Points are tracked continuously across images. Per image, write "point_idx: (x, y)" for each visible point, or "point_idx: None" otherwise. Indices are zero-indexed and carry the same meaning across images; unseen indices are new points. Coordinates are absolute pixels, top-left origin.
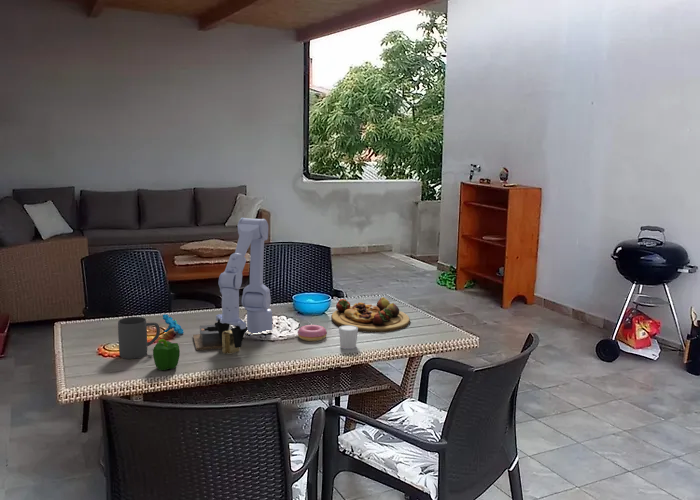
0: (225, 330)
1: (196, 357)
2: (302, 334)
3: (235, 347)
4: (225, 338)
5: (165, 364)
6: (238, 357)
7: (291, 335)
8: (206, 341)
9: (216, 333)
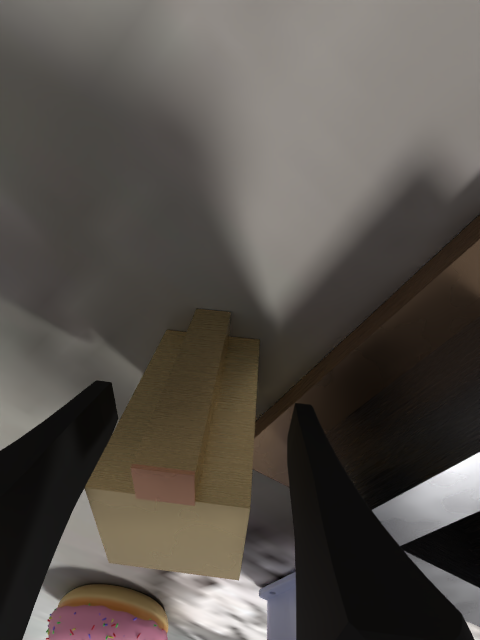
0: (301, 544)
1: (337, 20)
2: (93, 615)
3: (102, 381)
4: (155, 416)
5: None
6: (58, 316)
7: (188, 597)
8: (475, 353)
9: (420, 479)
